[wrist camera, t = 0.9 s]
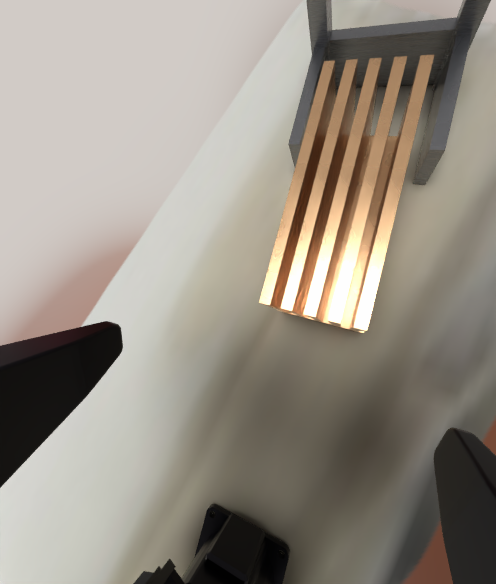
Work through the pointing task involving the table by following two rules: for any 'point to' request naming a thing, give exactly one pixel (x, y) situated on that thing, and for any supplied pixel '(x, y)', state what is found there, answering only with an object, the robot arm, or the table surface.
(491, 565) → the robot arm
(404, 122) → the heat-sink block
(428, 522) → the table surface
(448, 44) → the grey open frame
